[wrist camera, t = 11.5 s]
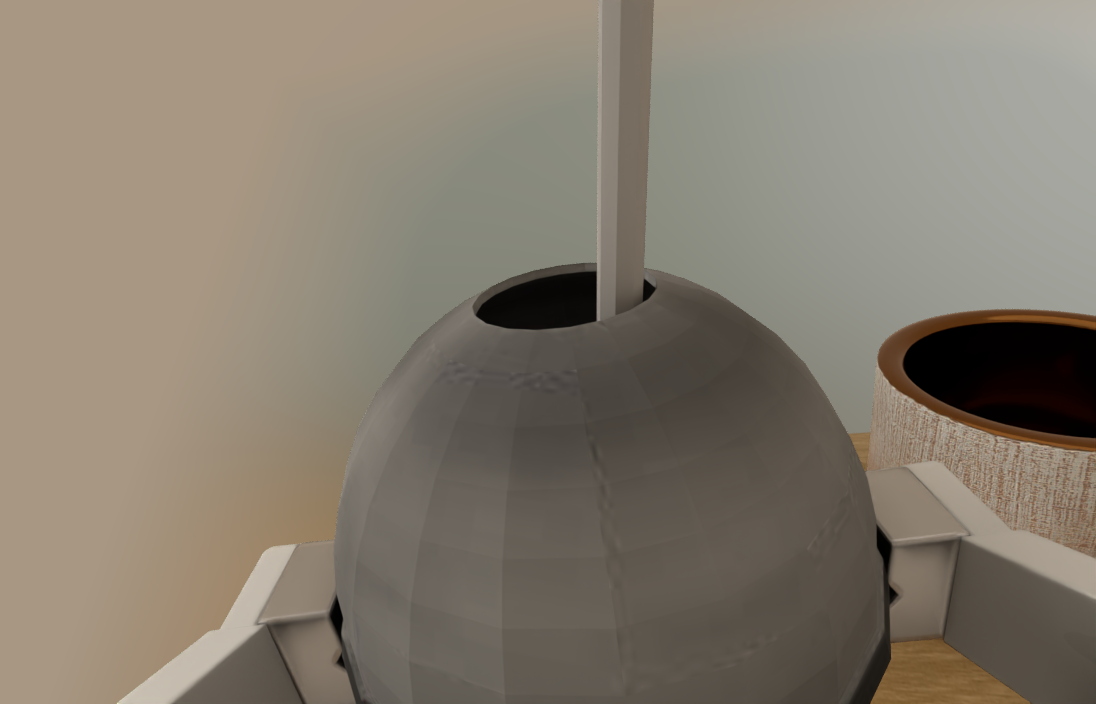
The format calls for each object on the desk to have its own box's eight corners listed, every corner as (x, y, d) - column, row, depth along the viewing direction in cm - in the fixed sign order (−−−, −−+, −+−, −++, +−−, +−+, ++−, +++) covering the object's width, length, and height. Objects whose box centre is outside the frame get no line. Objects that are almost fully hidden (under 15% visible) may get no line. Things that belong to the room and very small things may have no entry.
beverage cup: (547, 756, 18) (356, -61, 10) (822, 812, 16) (887, -197, 7) (439, 1146, 12) (-383, -242, 3) (874, 1335, 9) (1741, -1612, 1)
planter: (959, 708, 34) (1002, 479, 28) (819, 505, 51) (825, 330, 44) (1284, 662, 34) (1404, 419, 27) (1037, 472, 50) (1076, 290, 44)
